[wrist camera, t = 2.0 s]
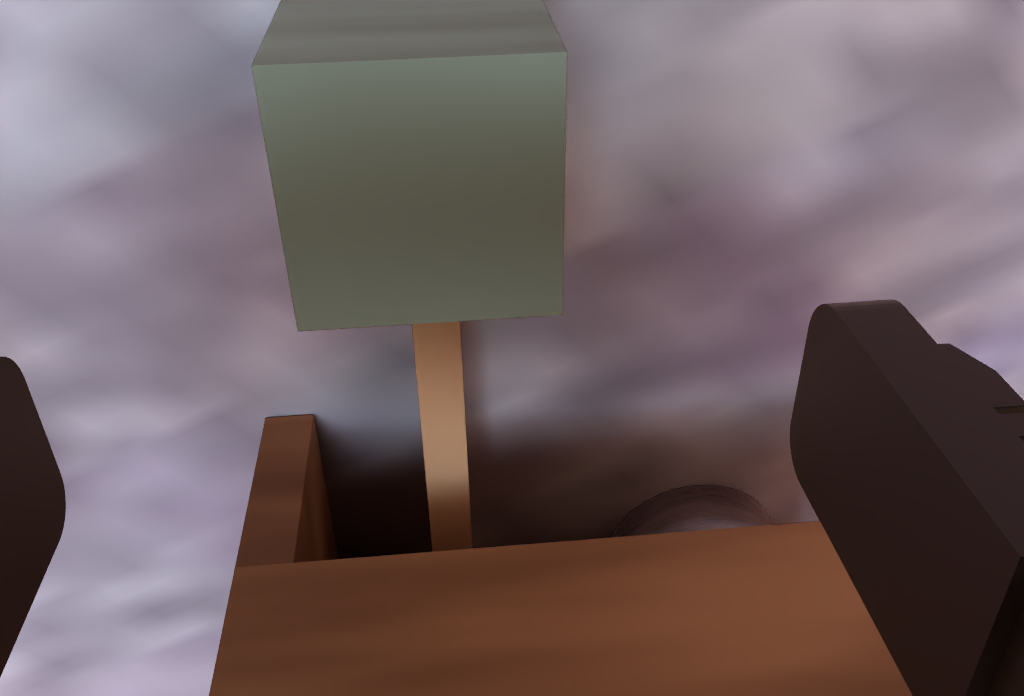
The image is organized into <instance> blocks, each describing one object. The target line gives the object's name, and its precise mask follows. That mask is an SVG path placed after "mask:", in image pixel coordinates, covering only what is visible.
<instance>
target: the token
mask: <svg viewBox="0 0 1024 696" xmlns="http://www.w3.org/2000/svg"><path fill="white" fill-rule="evenodd" d="M764 525H772V523H771V521H770V518H769V516H768V514H767V512H766V511H765V509H764V508H763V507H762V506H761V504H760V503H759V502H757V501H756V500H755V499H754V498H752V497H751V496H749V495H747V494H746V493H743V492H741V491H739V490H736V489H732V488H729V487H724V486H718V485H694V486H687V487H682V488H678V489H674V490H670V491H667V492H665V493H662V494H659V495H657V496H655V497H653V498H651V499H649V500H647V501H645V502H644V503H642V504H640V505H639V506H638V507H636V508H635V509H633V510H632V511H631V512H630V513H629V514H628V515H627V516H626V517H625V518H624V519H623V520H622V521H621V522H620V523H619V524H618V526H617V527H616V529H615V530H614V532H613V534H612V536H611V538H613V537H625V536H638V535H651V534H663V533H676V532H689V531H701V530H714V529H726V528H739V527H752V526H764Z"/></svg>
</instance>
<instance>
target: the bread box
mask: <svg viewBox="0 0 1024 696" xmlns="http://www.w3.org/2000/svg"><path fill="white" fill-rule="evenodd" d="M209 696H912V694H911V692H910V690H909V688H908V686H907V684H906V682H905V681H904V679H903V677H902V675H901V673H900V671H899V669H898V667H897V665H896V664H895V662H894V660H893V658H892V656H891V654H890V652H889V650H888V648H887V647H886V645H885V643H884V641H883V639H882V637H881V635H880V633H879V632H878V630H877V628H876V626H875V624H874V622H873V620H872V618H871V616H870V615H869V613H868V611H867V609H866V607H865V605H864V603H863V601H862V599H861V598H860V596H859V594H858V592H857V590H856V588H855V586H854V584H853V582H852V581H851V579H850V577H849V575H848V573H847V571H846V569H845V567H844V566H843V564H842V562H841V560H840V558H839V556H838V554H837V552H836V550H835V549H834V547H833V545H832V543H831V541H830V539H829V537H828V535H827V533H826V532H825V530H824V528H823V526H822V524H821V522H820V521H815V522H802V523H789V524H777V525H764V526H752V527H739V528H726V529H714V530H701V531H689V532H676V533H663V534H651V535H638V536H625V537H613V538H600V539H588V540H575V541H562V542H550V543H537V544H525V545H512V546H499V547H487V548H474V549H461V550H449V551H436V552H424V553H411V554H398V555H386V556H373V557H361V558H348V559H338V553H337V547H336V541H335V536H334V530H333V524H332V518H331V513H330V507H329V501H328V495H327V490H326V484H325V478H324V472H323V467H322V461H321V455H320V449H319V444H318V438H317V432H316V426H315V421H314V415H301V416H287V417H272V418H265V423H264V428H263V433H262V438H261V443H260V448H259V453H258V458H257V462H256V467H255V472H254V477H253V482H252V487H251V492H250V497H249V502H248V507H247V512H246V516H245V521H244V526H243V531H242V536H241V541H240V546H239V551H238V556H237V561H236V566H235V571H234V575H233V580H232V585H231V590H230V595H229V600H228V605H227V610H226V615H225V620H224V625H223V630H222V634H221V639H220V644H219V649H218V654H217V659H216V664H215V669H214V674H213V679H212V684H211V688H210V693H209Z"/></svg>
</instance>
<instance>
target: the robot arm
mask: <svg viewBox="0 0 1024 696" xmlns="http://www.w3.org/2000/svg"><path fill="white" fill-rule="evenodd" d="M790 447H791V455H792V460H793V465H794V469H795V472H796V475H797V478H798V480H799V482H800V484H801V486H802V488H803V490H804V492H805V494H806V496H807V498H808V500H809V501H810V503H811V505H812V507H813V509H814V511H815V513H816V515H817V517H818V518H819V520H820V522H821V524H822V526H823V528H824V530H825V532H826V533H827V535H828V537H829V539H830V541H831V543H832V545H833V547H834V549H835V550H836V552H837V554H838V556H839V558H840V560H841V562H842V564H843V566H844V567H845V569H846V571H847V573H848V575H849V577H850V579H851V581H852V582H853V584H854V586H855V588H856V590H857V592H858V594H859V596H860V598H861V599H862V601H863V603H864V605H865V607H866V609H867V611H868V613H869V615H870V616H871V618H872V620H873V622H874V624H875V626H876V628H877V630H878V632H879V633H880V635H881V637H882V639H883V641H884V643H885V645H886V647H887V648H888V650H889V652H890V654H891V656H892V658H893V660H894V662H895V664H896V665H897V667H898V669H899V671H900V673H901V675H902V677H903V679H904V681H905V682H906V684H907V686H908V688H909V690H910V692H911V694H912V696H1024V400H1023V399H1022V398H1021V397H1020V396H1019V395H1018V394H1017V393H1016V392H1015V391H1014V390H1013V389H1012V388H1011V387H1010V385H1009V384H1008V383H1007V382H1006V381H1005V380H1004V379H1003V378H1002V377H1001V376H1000V375H999V374H998V373H997V372H996V371H995V370H993V369H992V368H990V367H988V366H987V365H985V364H983V363H982V362H980V361H978V360H976V359H975V358H973V357H971V356H970V355H968V354H966V353H965V352H963V351H961V350H959V349H958V348H956V347H954V346H953V345H951V344H937V343H936V342H935V341H934V340H933V339H932V338H931V336H930V335H929V334H928V333H927V332H926V331H925V330H924V328H923V327H922V326H921V325H920V324H919V323H918V322H917V320H916V319H915V318H914V317H913V316H912V315H911V314H910V313H909V311H908V310H907V309H906V308H905V307H904V306H903V305H902V304H901V303H900V302H898V301H896V300H877V301H862V302H847V303H832V304H822V305H820V306H818V307H817V308H816V310H815V311H814V313H813V315H812V317H811V320H810V324H809V328H808V333H807V338H806V344H805V349H804V355H803V360H802V365H801V371H800V376H799V381H798V387H797V392H796V398H795V403H794V408H793V414H792V419H791V426H790ZM65 510H66V501H65V490H64V484H63V480H62V477H61V473H60V471H59V468H58V465H57V463H56V460H55V457H54V455H53V452H52V449H51V447H50V444H49V442H48V439H47V436H46V434H45V431H44V428H43V426H42V423H41V420H40V418H39V415H38V412H37V410H36V407H35V405H34V402H33V399H32V397H31V394H30V391H29V389H28V386H27V383H26V381H25V378H24V376H23V374H22V372H21V370H20V368H19V367H18V366H17V364H16V363H15V362H14V361H13V360H11V359H10V358H7V357H0V677H1V674H2V672H3V670H4V667H5V665H6V663H7V660H8V658H9V656H10V654H11V651H12V649H13V647H14V644H15V642H16V640H17V637H18V635H19V633H20V631H21V628H22V626H23V624H24V621H25V619H26V617H27V614H28V612H29V610H30V607H31V605H32V603H33V601H34V598H35V596H36V594H37V591H38V589H39V587H40V584H41V582H42V580H43V578H44V575H45V573H46V571H47V568H48V566H49V564H50V561H51V559H52V557H53V554H54V552H55V550H56V548H57V545H58V543H59V541H60V538H61V535H62V531H63V527H64V521H65Z"/></svg>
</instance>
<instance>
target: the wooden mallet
mask: <svg viewBox="0 0 1024 696" xmlns="http://www.w3.org/2000/svg"><path fill="white" fill-rule="evenodd" d="M251 66H252V72H253V78H254V83H255V89H256V95H257V100H258V106H259V112H260V118H261V123H262V129H263V135H264V140H265V146H266V152H267V158H268V163H269V169H270V175H271V181H272V186H273V192H274V198H275V203H276V209H277V215H278V221H279V226H280V232H281V238H282V243H283V249H284V255H285V261H286V266H287V272H288V278H289V284H290V289H291V295H292V301H293V306H294V312H295V318H296V324H297V329H298V331H312V330H328V329H344V328H360V327H376V326H392V325H408V324H412V331H413V342H414V353H415V364H416V375H417V386H418V397H419V408H420V419H421V430H422V441H423V452H424V463H425V474H426V485H427V496H428V507H429V518H430V529H431V540H432V551H433V552H436V551H449V550H461V549H472V532H471V514H470V496H469V478H468V460H467V442H466V424H465V406H464V389H463V371H462V353H461V335H460V321H472V320H488V319H504V318H521V317H537V316H553V315H562V296H563V242H564V188H565V134H566V80H567V51H566V49H565V47H564V45H563V42H562V40H561V38H560V36H559V34H558V32H557V30H556V28H555V25H554V23H553V21H552V19H551V17H550V15H549V13H548V11H547V8H546V6H545V4H544V2H543V0H281V1H280V3H279V6H278V8H277V10H276V12H275V14H274V17H273V19H272V21H271V23H270V26H269V28H268V30H267V32H266V34H265V37H264V39H263V41H262V43H261V45H260V48H259V50H258V52H257V54H256V57H255V59H254V61H253V63H252V65H251Z"/></svg>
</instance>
